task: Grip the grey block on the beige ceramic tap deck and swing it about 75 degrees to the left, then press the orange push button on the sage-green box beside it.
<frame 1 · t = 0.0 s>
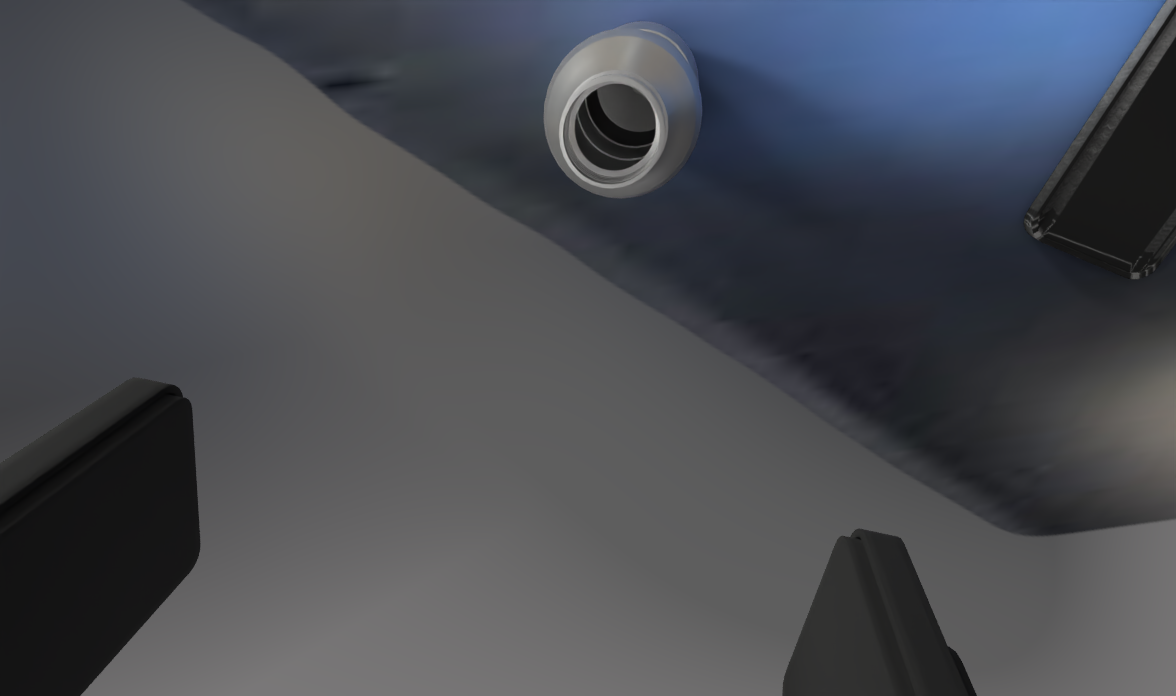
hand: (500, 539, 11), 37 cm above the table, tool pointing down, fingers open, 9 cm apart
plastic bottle: (641, 84, 43), on the table
phone: (1159, 132, 41), on the table
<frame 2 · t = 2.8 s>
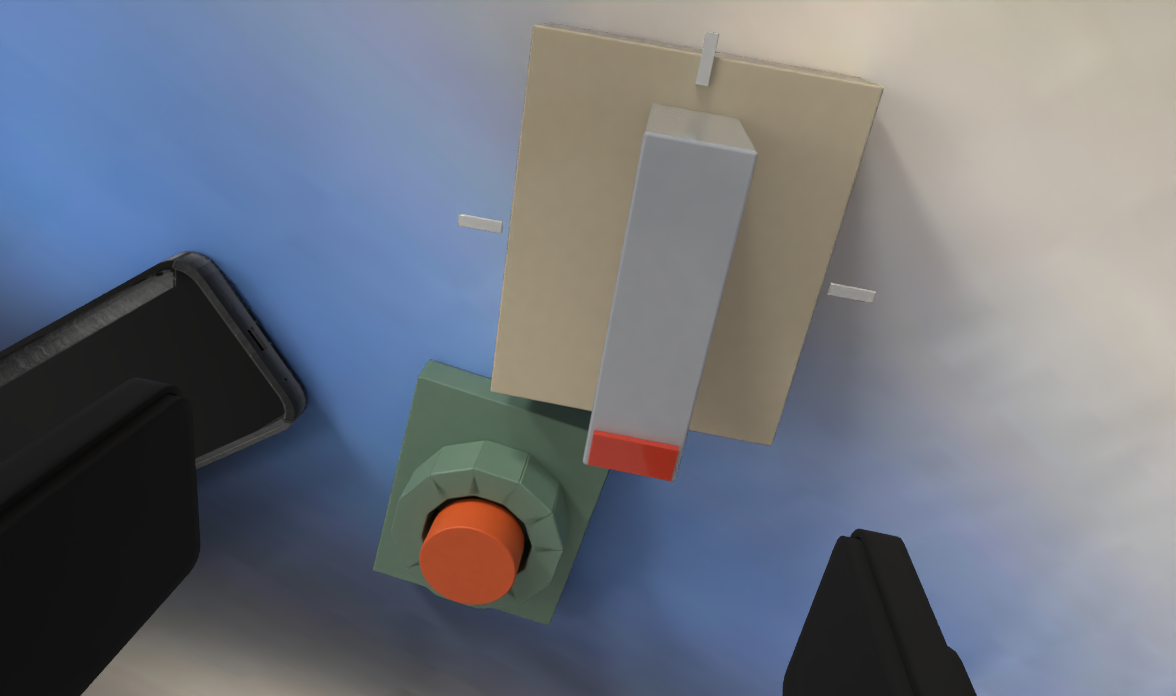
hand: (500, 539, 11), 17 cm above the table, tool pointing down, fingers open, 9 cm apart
grey block: (663, 288, 21), point 6 cm above the table, hinge at 0.0°
tap deck: (665, 231, 26), on the table
button: (472, 551, 28), point 4 cm above the table, slide at 0.1 cm
button box: (496, 488, 32), on the table
phone: (129, 394, 32), on the table
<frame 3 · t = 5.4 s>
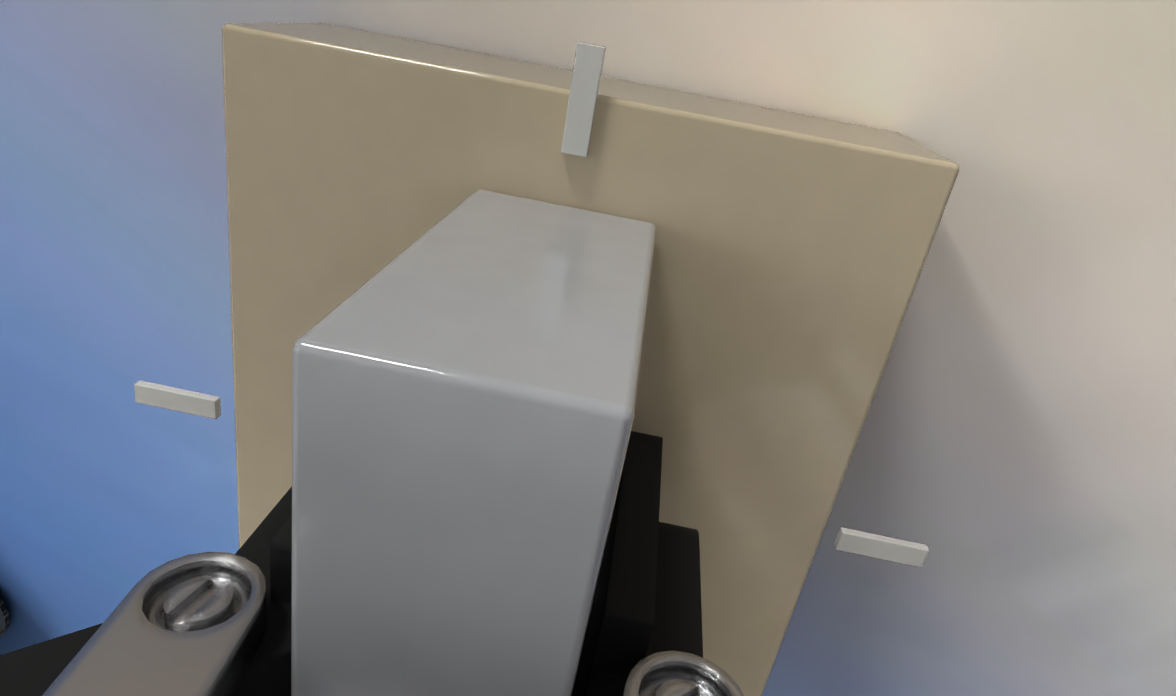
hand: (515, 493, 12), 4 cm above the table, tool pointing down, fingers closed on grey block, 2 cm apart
grey block: (481, 593, 10), point 6 cm above the table, hinge at 0.0°, touching gripper
tap deck: (553, 387, 15), on the table
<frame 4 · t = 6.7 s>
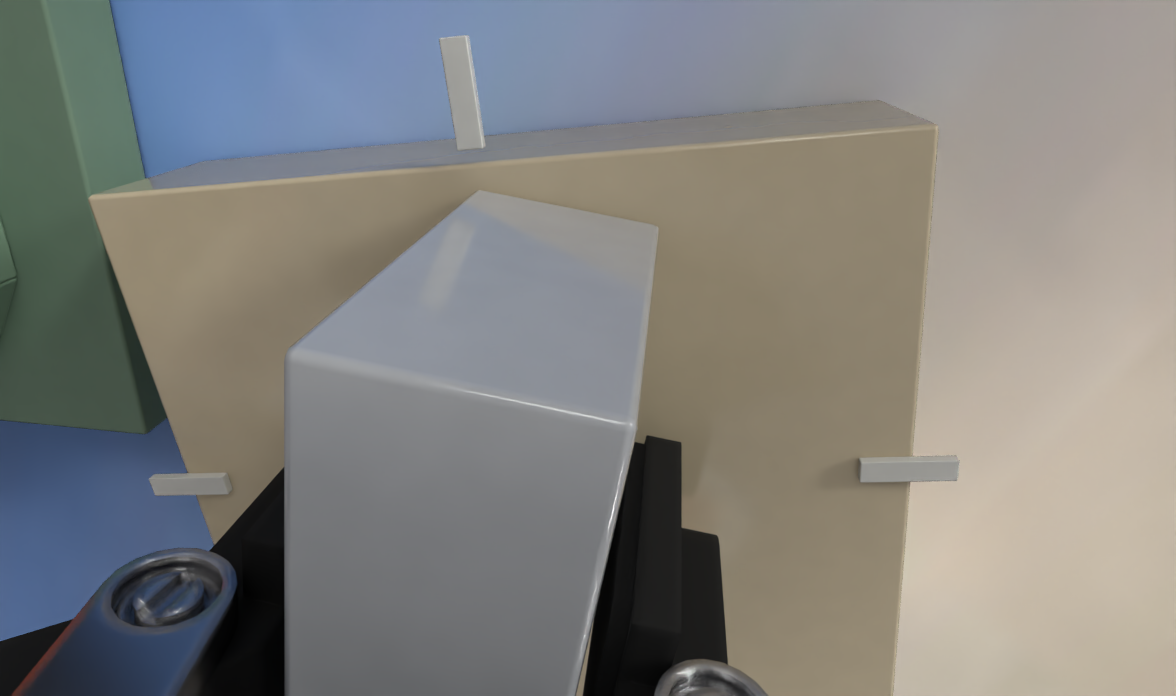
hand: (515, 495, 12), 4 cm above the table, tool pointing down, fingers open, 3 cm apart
grey block: (480, 602, 10), point 6 cm above the table, hinge at 74.4°
tap deck: (553, 390, 15), on the table
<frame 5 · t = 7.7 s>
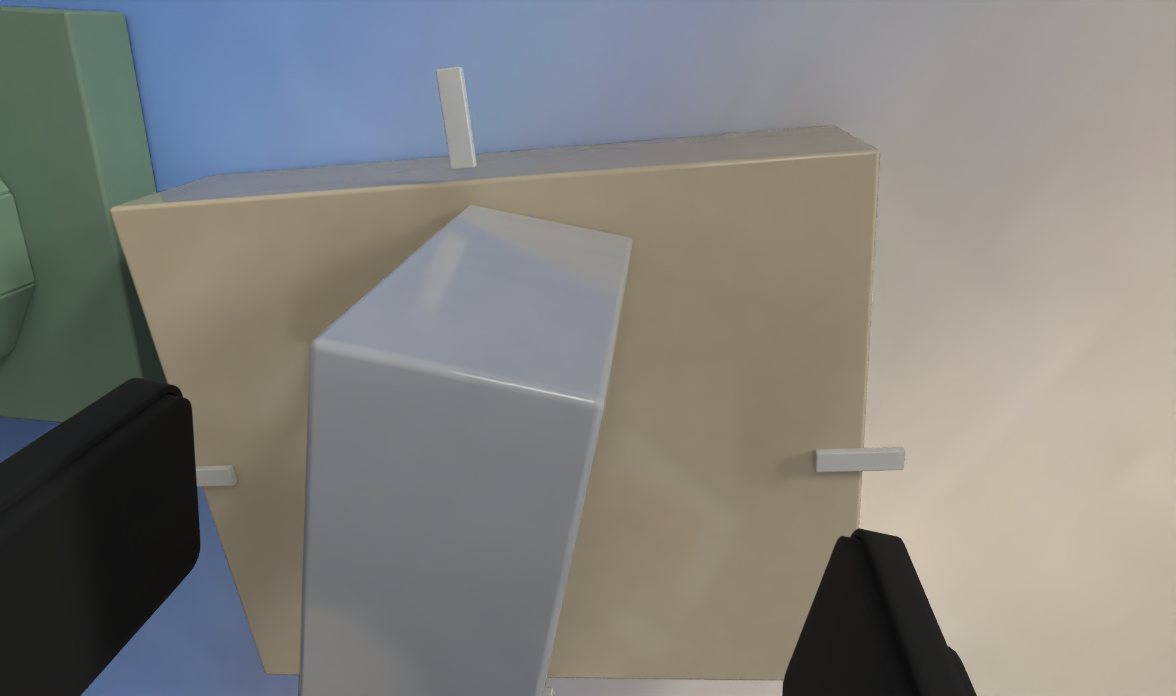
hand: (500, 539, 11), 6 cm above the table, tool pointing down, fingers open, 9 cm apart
grey block: (470, 576, 11), point 6 cm above the table, hinge at 74.4°
tap deck: (538, 390, 16), on the table
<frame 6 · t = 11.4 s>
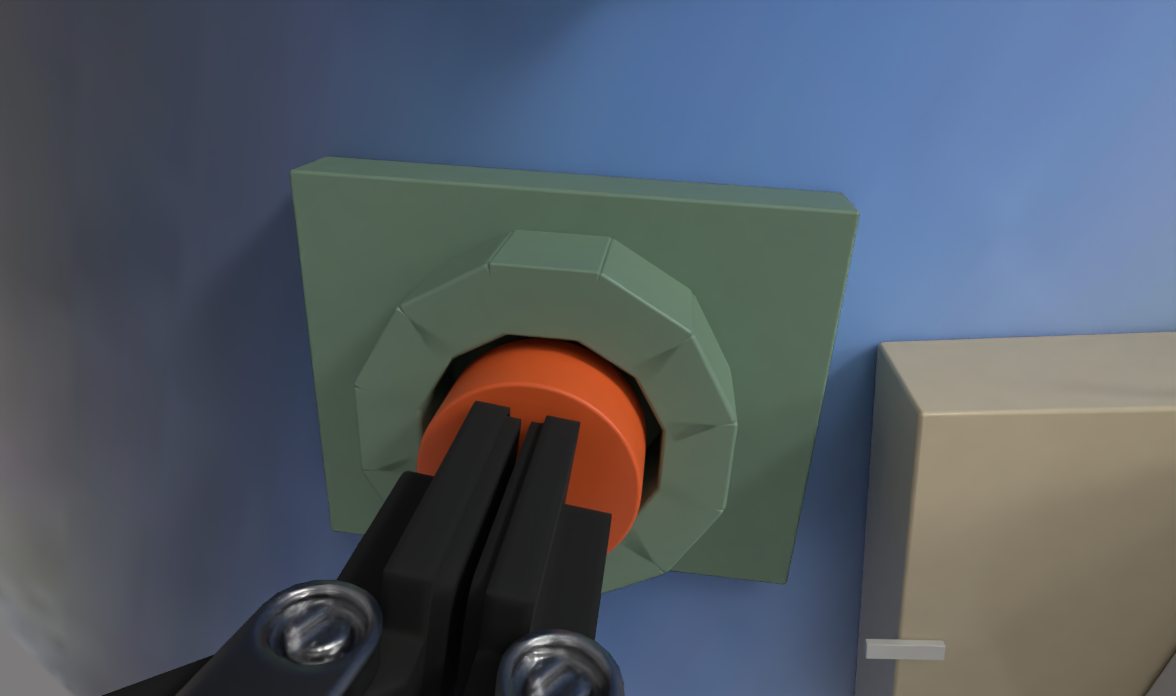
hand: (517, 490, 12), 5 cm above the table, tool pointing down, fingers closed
tap deck: (1156, 544, 16), on the table
button: (536, 455, 13), point 4 cm above the table, slide at -0.2 cm, touching gripper
button box: (568, 362, 16), on the table
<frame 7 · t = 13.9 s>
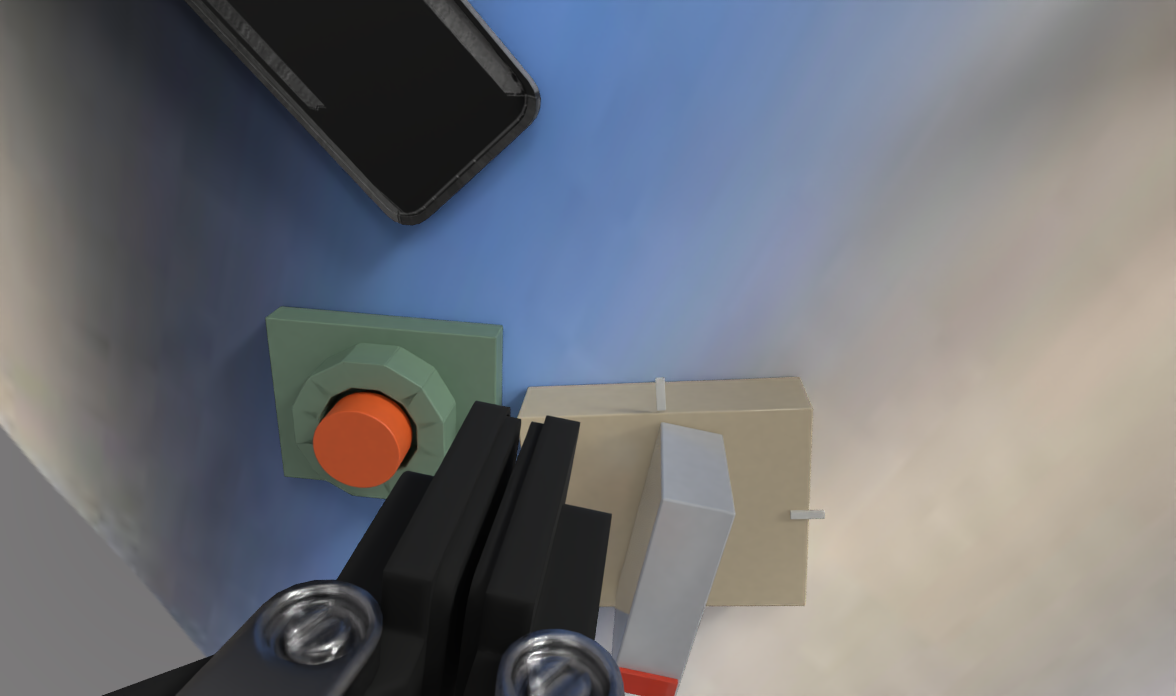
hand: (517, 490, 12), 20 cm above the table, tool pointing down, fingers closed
grey block: (667, 559, 30), point 6 cm above the table, hinge at 74.4°
tap deck: (666, 477, 35), on the table
button: (363, 439, 31), point 4 cm above the table, slide at 0.1 cm
button box: (395, 396, 35), on the table
phone: (345, 16, 28), on the table
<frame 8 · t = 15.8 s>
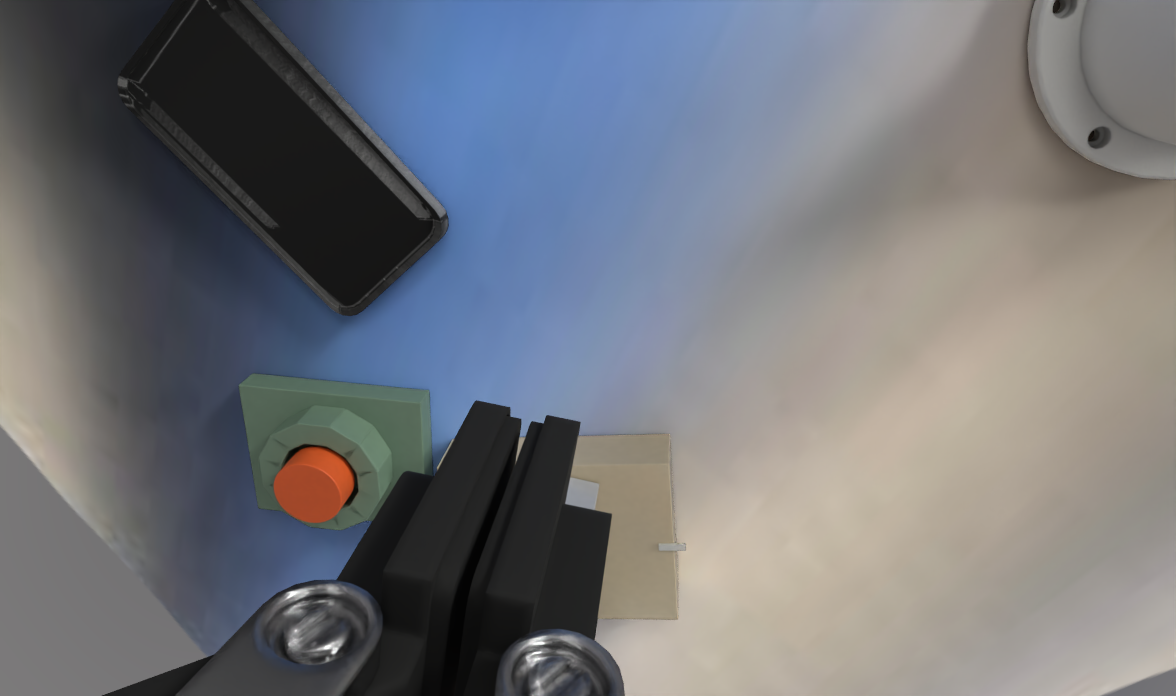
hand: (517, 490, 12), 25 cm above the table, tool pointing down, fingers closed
grey block: (551, 583, 37), point 6 cm above the table, hinge at 74.4°
tap deck: (568, 512, 43), on the table
button: (314, 484, 39), point 4 cm above the table, slide at 0.1 cm
button box: (346, 444, 42), on the table
phone: (294, 155, 36), on the table
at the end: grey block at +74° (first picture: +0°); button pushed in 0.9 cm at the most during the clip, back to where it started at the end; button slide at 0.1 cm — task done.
